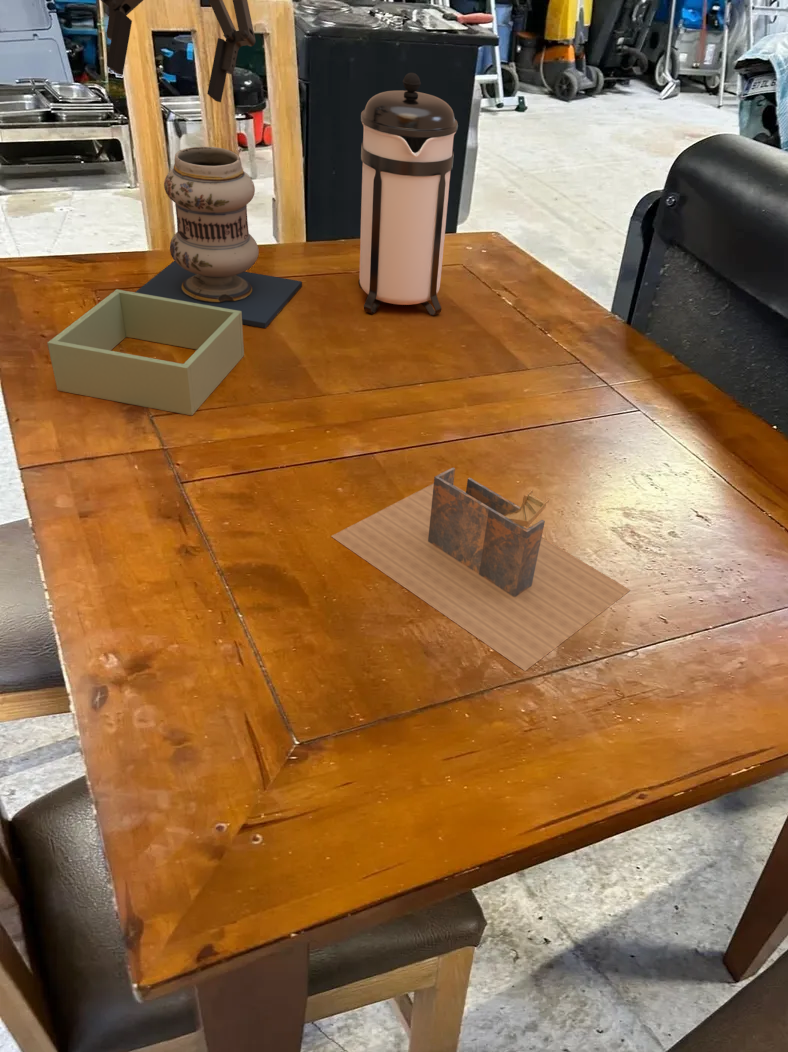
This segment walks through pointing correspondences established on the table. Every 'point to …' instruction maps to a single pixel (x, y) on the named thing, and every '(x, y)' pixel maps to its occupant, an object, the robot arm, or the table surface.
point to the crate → (145, 380)
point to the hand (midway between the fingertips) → (164, 84)
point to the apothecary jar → (212, 223)
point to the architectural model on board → (484, 566)
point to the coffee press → (404, 196)
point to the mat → (255, 308)
